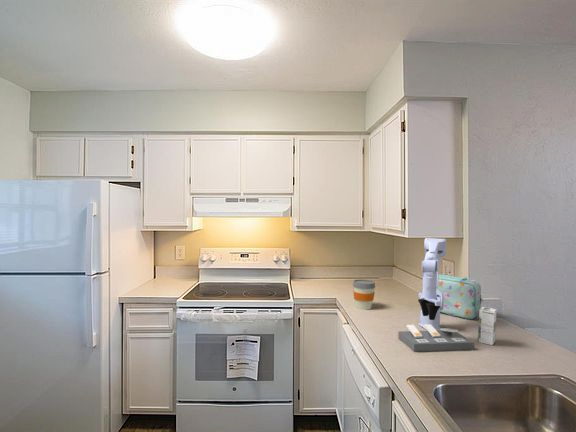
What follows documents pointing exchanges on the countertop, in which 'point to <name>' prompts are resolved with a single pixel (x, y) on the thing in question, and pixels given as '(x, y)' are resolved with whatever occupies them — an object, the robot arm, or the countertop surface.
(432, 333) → the rocker middle
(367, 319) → the countertop surface
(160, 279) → the countertop surface
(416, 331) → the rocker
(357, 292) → the reusable coffee cup
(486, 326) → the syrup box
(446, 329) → the rocker
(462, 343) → the power strip
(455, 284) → the lunch box
